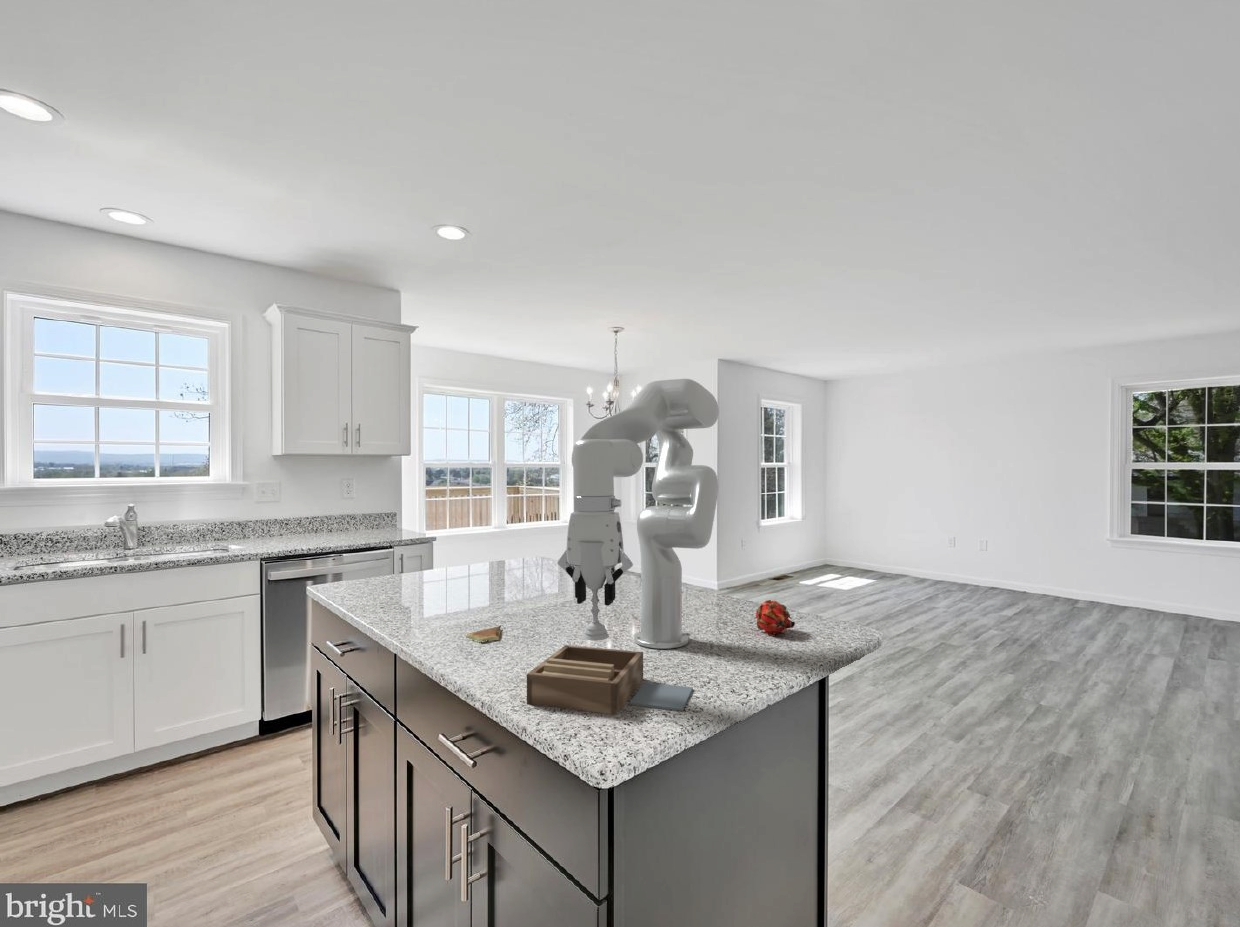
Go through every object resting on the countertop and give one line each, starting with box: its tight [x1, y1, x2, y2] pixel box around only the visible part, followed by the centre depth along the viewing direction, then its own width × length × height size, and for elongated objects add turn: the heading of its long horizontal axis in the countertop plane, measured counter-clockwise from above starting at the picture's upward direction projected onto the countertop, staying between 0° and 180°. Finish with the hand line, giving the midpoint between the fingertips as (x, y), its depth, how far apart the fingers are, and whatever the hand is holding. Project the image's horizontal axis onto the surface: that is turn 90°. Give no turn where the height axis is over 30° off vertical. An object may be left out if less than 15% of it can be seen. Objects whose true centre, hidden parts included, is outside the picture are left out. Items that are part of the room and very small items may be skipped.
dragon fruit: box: [755, 599, 796, 637], centre depth 143 cm, size 8×8×12 cm
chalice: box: [578, 542, 610, 642], centre depth 108 cm, size 7×7×18 cm
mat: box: [629, 681, 694, 712], centre depth 102 cm, size 10×9×1 cm
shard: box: [464, 625, 502, 643], centre depth 140 cm, size 11×8×2 cm
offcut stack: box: [542, 657, 614, 681], centre depth 100 cm, size 4×12×6 cm, turn 73°
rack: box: [526, 644, 644, 716], centre depth 105 cm, size 18×16×5 cm
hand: (595, 602), depth 108 cm, fingers closed on chalice, 4 cm apart
